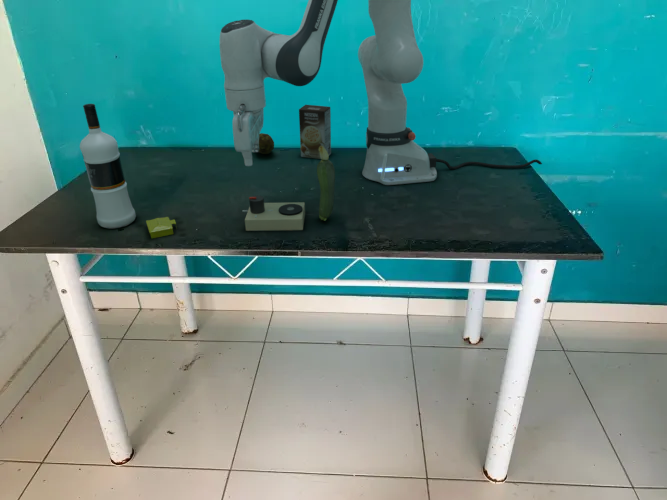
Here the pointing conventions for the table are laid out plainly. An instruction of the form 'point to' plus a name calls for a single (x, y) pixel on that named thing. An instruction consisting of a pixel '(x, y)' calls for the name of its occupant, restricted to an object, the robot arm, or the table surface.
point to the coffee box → (314, 130)
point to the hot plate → (274, 218)
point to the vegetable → (325, 184)
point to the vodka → (105, 175)
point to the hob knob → (257, 204)
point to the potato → (265, 143)
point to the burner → (290, 209)
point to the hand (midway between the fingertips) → (252, 158)
